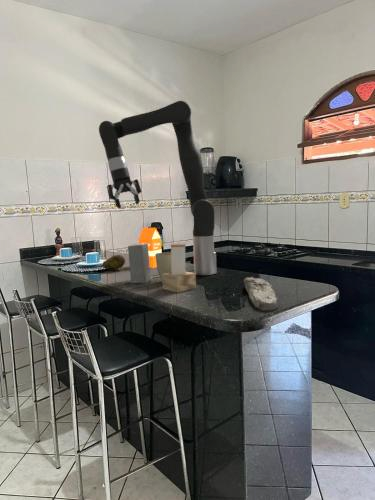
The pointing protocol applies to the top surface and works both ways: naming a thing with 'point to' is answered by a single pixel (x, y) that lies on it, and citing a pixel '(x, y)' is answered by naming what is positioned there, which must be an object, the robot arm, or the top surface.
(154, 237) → the orange juice
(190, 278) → the oak block
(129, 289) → the top surface
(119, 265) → the potato
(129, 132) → the robot arm
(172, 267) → the canister
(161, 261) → the mug
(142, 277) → the skincare box
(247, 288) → the long grey stone
